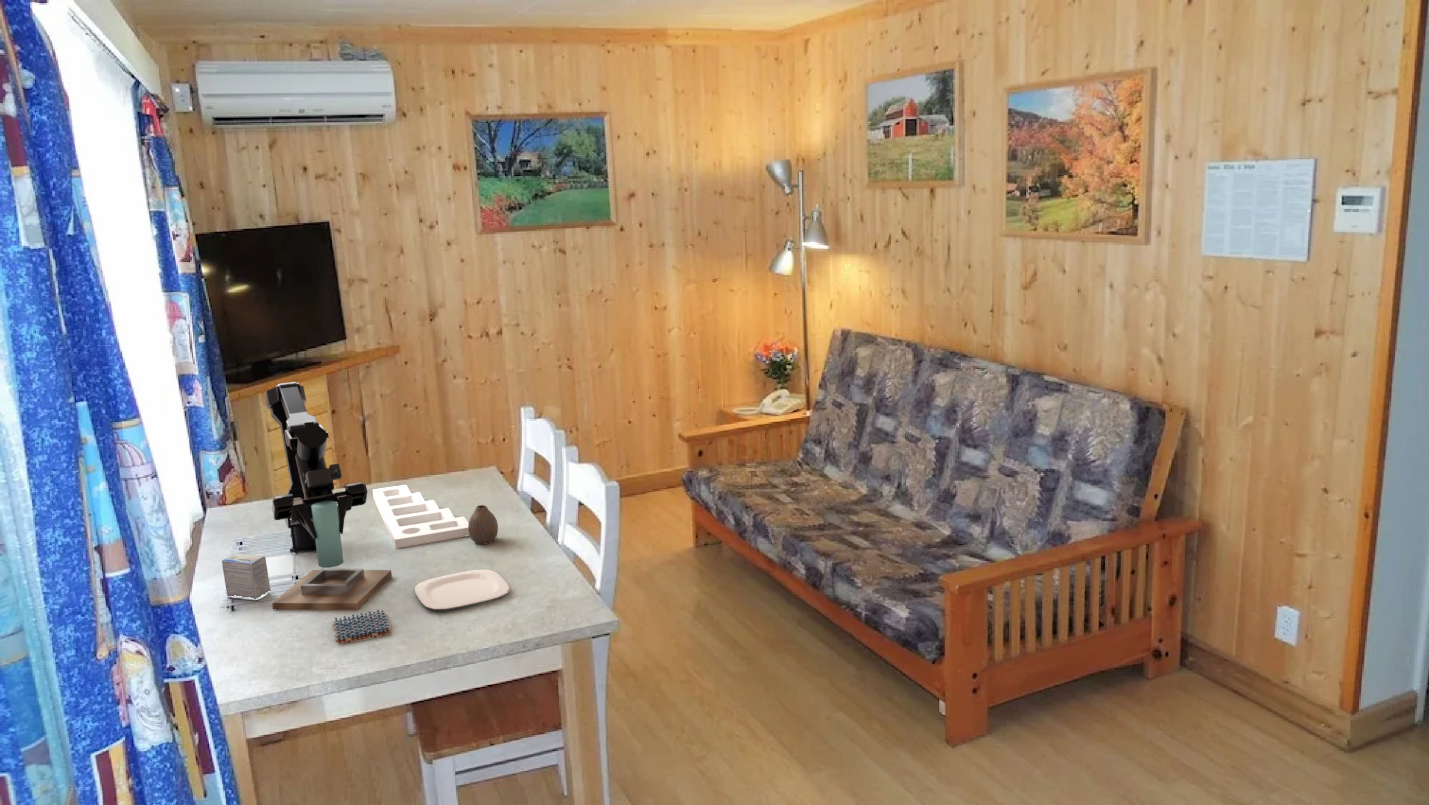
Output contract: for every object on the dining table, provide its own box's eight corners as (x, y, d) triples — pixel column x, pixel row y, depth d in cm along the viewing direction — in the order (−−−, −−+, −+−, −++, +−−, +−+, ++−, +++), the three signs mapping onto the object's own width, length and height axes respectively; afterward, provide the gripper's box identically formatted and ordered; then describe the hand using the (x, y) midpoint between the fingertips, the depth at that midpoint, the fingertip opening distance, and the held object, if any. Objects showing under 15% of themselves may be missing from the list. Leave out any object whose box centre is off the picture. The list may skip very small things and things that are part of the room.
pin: (313, 564, 222) (306, 505, 219) (335, 557, 226) (328, 499, 223) (326, 569, 219) (319, 510, 216) (348, 562, 223) (341, 503, 220)
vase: (492, 547, 248) (489, 511, 246) (464, 546, 249) (461, 510, 247) (503, 537, 254) (500, 502, 252) (476, 536, 256) (473, 501, 254)
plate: (429, 620, 209) (428, 612, 209) (409, 589, 225) (408, 582, 225) (517, 600, 218) (516, 592, 217) (492, 572, 233) (491, 565, 233)
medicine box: (271, 593, 225) (266, 555, 223) (256, 602, 221) (251, 563, 219) (242, 590, 227) (236, 552, 225) (226, 598, 223) (220, 559, 221)
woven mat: (335, 648, 199) (334, 638, 198) (332, 627, 208) (331, 617, 208) (393, 637, 202) (392, 627, 202) (387, 617, 212) (386, 607, 212)
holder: (373, 499, 290) (372, 489, 289) (439, 489, 297) (438, 479, 296) (395, 550, 250) (394, 539, 249) (472, 537, 257) (471, 527, 256)
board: (273, 609, 216) (270, 593, 215) (313, 576, 234) (311, 561, 233) (357, 610, 214) (355, 594, 214) (391, 576, 232) (390, 561, 231)
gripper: (267, 460, 216) (281, 526, 209) (360, 445, 225) (377, 508, 218) (267, 487, 225) (280, 551, 218) (357, 472, 234) (373, 533, 227)
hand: (328, 535), depth 220 cm, fingers closed on pin, 5 cm apart
